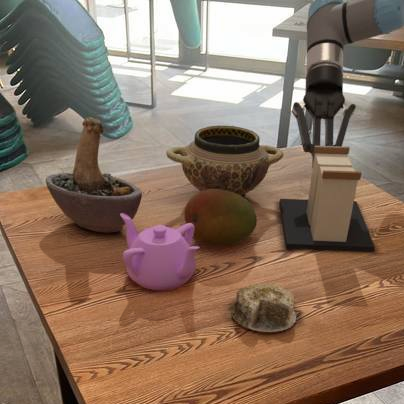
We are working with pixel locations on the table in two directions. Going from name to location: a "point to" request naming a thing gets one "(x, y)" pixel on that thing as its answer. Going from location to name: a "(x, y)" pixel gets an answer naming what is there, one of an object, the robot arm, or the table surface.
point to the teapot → (159, 255)
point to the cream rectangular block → (325, 158)
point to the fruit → (220, 217)
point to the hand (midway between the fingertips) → (321, 184)
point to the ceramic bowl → (225, 159)
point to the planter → (93, 188)
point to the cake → (264, 308)
